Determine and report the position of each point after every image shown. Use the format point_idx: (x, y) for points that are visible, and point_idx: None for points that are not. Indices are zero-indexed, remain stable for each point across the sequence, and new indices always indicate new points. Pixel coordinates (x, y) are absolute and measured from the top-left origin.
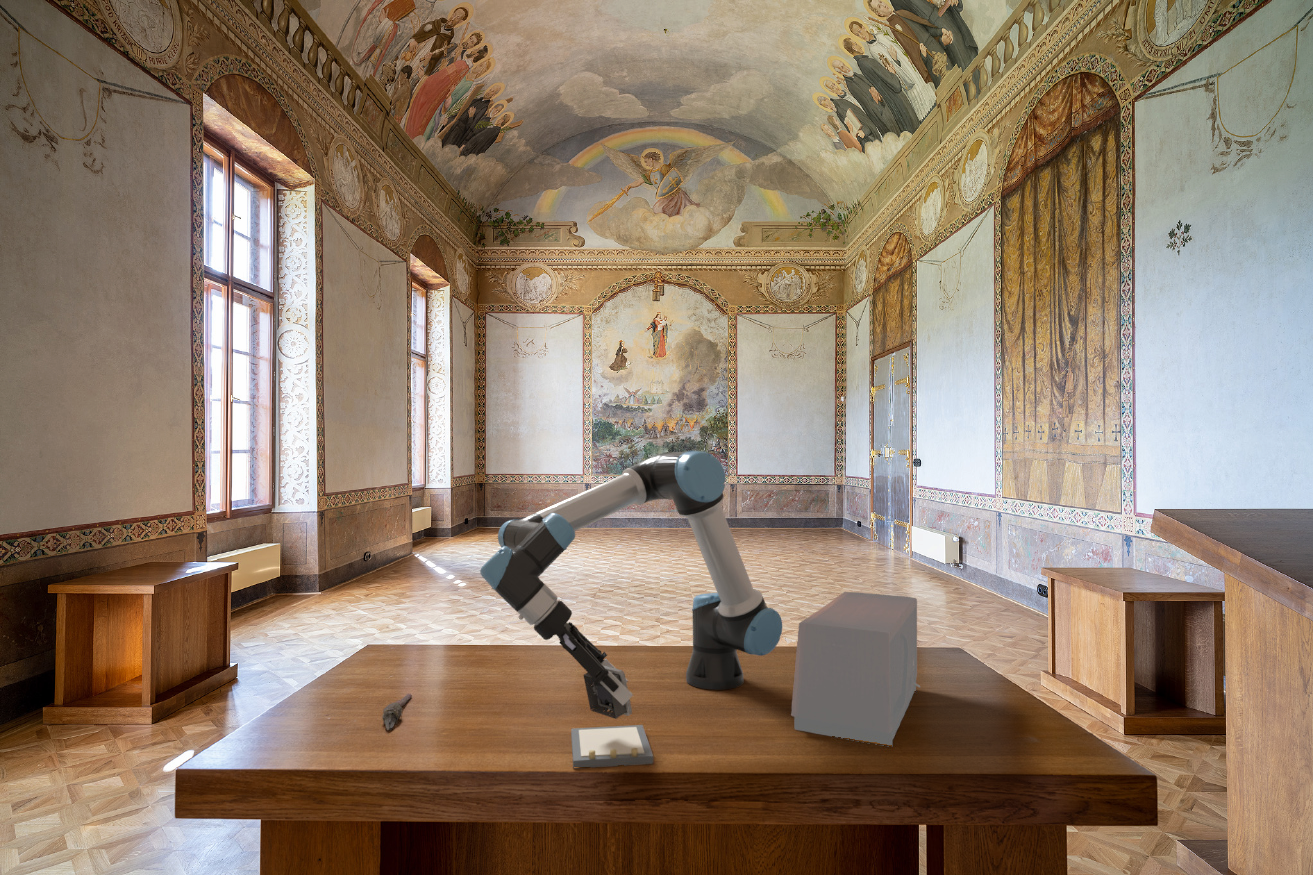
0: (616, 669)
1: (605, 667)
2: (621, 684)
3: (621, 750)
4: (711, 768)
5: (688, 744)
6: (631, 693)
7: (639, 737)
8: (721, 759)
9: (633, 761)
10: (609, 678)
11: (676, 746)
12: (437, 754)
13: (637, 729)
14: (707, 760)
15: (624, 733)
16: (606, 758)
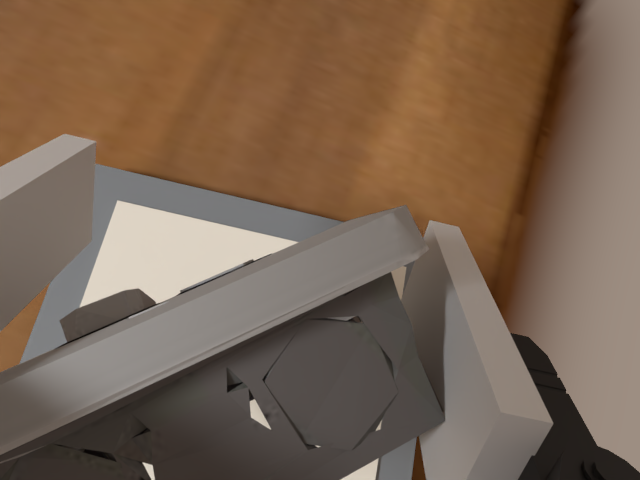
0: (321, 262)
1: (144, 367)
2: (485, 295)
3: None
4: (513, 93)
5: (305, 72)
6: (450, 230)
7: (247, 231)
8: (457, 37)
9: None
10: (594, 444)
11: (307, 116)
12: None
13: (139, 203)
14: (453, 77)
15: (171, 278)
16: (411, 445)
